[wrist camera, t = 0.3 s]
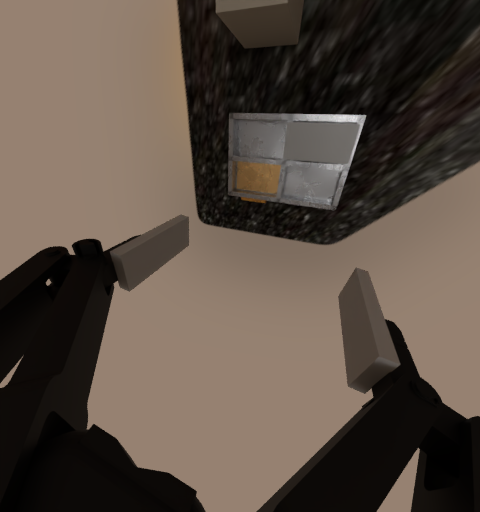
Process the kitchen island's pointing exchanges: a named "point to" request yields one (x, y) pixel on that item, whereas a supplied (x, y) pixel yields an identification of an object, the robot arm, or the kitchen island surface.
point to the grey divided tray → (282, 162)
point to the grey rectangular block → (320, 142)
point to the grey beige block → (262, 21)
